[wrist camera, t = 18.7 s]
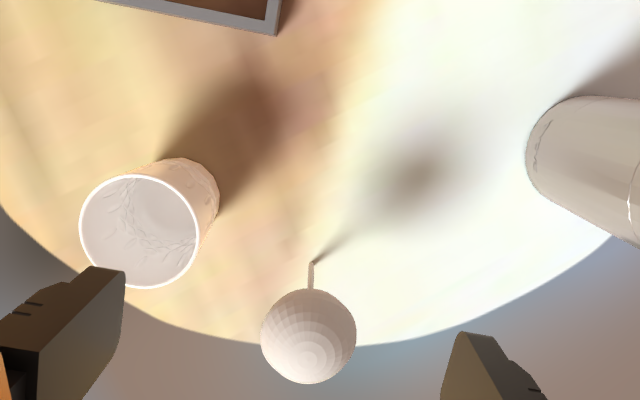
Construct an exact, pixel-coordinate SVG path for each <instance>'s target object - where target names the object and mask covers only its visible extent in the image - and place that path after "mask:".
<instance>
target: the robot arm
mask: <svg viewBox="0 0 640 400" xmlns="http://www.w3.org/2000/svg"><path fill="white" fill-rule="evenodd" d="M525 162H526V169H527V173H528V176H529V178H530V180H531V182H532V184H533V186H534V187H535V188H536V189H537V190H538V191H539V193H540V194H542V195H543V196H544V197H546V198H547V199H549V200H550V201H552V202H554V203H556V204H558V205H559V206H561V207H563V208H565V209H567V210H568V211H570V212H572V213H574V214H575V215H577V216H579V217H581V218H583V219H585V220H586V221H588V222H590V223H592V224H594V225H596V226H597V227H599V228H601V229H603V230H605V231H607V232H608V233H610V234H612V235H614V236H616V237H618V238H619V239H621V240H623V241H625V242H627V243H629V244H630V245H632V246H634V247H636V248H638V249H640V99H629V98H619V97H606V96H578V97H574V98H570V99H567V100H565V101H563V102H561V103H558V104H557V105H555V106H554V107H553V108H551V109H550V110H548V111H547V112H546V113H545V114H544V115H543V116H542V117H541V118H540V119H539V121H538V122H537V124H536V125H535V127H534V128H533V130H532V132H531V134H530V137H529V139H528V142H527V147H526V152H525ZM125 285H126V275H125V272H124V271H120V270H114V269H108V268H103V267H97V266H89V267H88V268H87V269H85V270H84V271H83V272H82V273H81V274H79V275H78V276H77V277H76V278H75V279H74V280H72V281H71V282H70V283H65V282H60V283H57V284H54V285H52V286H49V287H46V288H44V289H41V290H39V291H38V292H36V293H35V294H34V295H33V296H31V297H30V298H29V299H27V300H26V301H25V303H24V304H21V305H20V306H18V307H17V308H16V309H14V310H13V312H12V314H11V313H9V314H8V315H7V316H5V317H4V318H3V319H1V320H0V400H82V399H83V397H84V396H85V395H86V393H87V392H88V391H89V389H90V388H91V386H92V385H93V384H94V382H95V381H96V380H97V378H98V377H99V375H100V374H101V373H102V371H103V370H104V369H105V367H106V366H107V364H108V363H109V362H110V360H111V359H112V357H113V355H114V353H115V351H116V348H117V345H118V342H119V338H120V333H121V323H122V314H123V305H124V295H125ZM440 400H547V398H546V397H545V395H544V394H543V393H541V390H540V388H539V387H538V385H537V384H536V383H535V381H534V380H533V378H532V377H531V375H530V374H528V373H527V372H526V371H525V370H523V369H522V368H521V367H520V366H519V365H517V364H516V363H515V362H514V361H510V360H508V358H507V357H506V355H505V354H504V352H503V351H502V349H501V348H500V346H499V345H498V343H497V341H496V340H495V339H494V338H493V337H492V336H486V335H480V334H474V333H469V332H463V331H461V332H460V333H459V334H458V335H457V337H456V339H455V343H454V346H453V349H452V353H451V356H450V360H449V363H448V367H447V370H446V374H445V377H444V381H443V384H442V388H441V393H440Z"/></svg>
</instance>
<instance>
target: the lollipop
mask: <svg viewBox="0 0 640 400" xmlns="http://www.w3.org/2000/svg"><path fill="white" fill-rule="evenodd" d="M313 283H314V263H312V262H311V263H309V270H308V288H307V289H300V290H295V291H293V292H290V293H288V294H287V295H285V296H283V297H282V298H281V299H279V300H278V301H277V302H276V303H275V304H274V305H273V307H272V308H271V309H270V311H269V312H268V314H267V315H266V316H265V319H264V321H263V323H262V327H261V335H260V338H261V348H262V352H263V354H264V356H265V358H266V360H267V361H268V362H269V364H270V365H271V366H272V367H273V368H275V370H277V371H278V372H279V373H280V374H281V375H283V376H284V377H285V378H287V379H289V380H291V381H294V382H297V383H303V384H314V383H319V382H322V381H325V380H327V379H329V378H331V377H332V376H334V375H335V374H337V372H339V371H340V370H341V369H342V368H343V367H344V365H345V364H346V363H347V362H348V360H349V359H350V358H351V355H352V353H353V351H354V348H355V344H356V325H355V321H354V319H353V317H352V315H351V313H350V312H349V310H348V309H347V308H346V307H345V306H344V305H343V304H342V303H341V302H340V301H339V300H338V299H336V298H335V297H334V296H332V295H331V294H329V293H327V292H324V291H322V290H318V289H313Z"/></svg>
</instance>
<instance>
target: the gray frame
mask: <svg viewBox="0 0 640 400" xmlns="http://www.w3.org/2000/svg"><path fill="white" fill-rule="evenodd" d="M96 1H101V2H106V3H111V4H116V5H121V6H126V7H131V8H136V9H141V10H146V11H151V12H156V13H160V14H165V15H170V16H175V17H180V18H185V19H190V20H195V21H200V22H205V23H210V24H215V25H220V26H225V27H230V28H235V29H240V30H245V31H250V32H255V33H260V34H265V35H270V36H275V37H276V36H277V30H278V24H279V18H280V12H281V6H282V0H268V2H267V8H266V15H265V21H263V20H258V19H253V18H248V17H243V16H238V15H233V14H228V13H223V12H218V11H214V10H209V9H204V8H199V7H194V6H189V5H184V4H179V3H174V2H169V1H164V0H96Z"/></svg>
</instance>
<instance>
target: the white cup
mask: <svg viewBox="0 0 640 400" xmlns="http://www.w3.org/2000/svg"><path fill="white" fill-rule="evenodd" d="M219 199H220V192H219V190H218V187H217V184H216V182H215V179H214V177H213V176H212V175H211V174H210V173H209V172H208V171H207V170H206V169H205V168H204V167H203V166H202V165H201V164H200V163H197V162H194V161H191V160H189V159H186V158H183V157H182V158H170V159H163V160H161V161H157V162H153V163H150V164H147V165H144V166H141V167H138V168H135V169H133V170H130V171H128V172H125V173H123V174H120V175H117V176H115V177H112V178H110V179H108V180H106V181H104V182H102V183H101V184H99V185H98V186H97V187H96V188H95V189H94V190H93V191H92V192H91V193H90V194H89V196H88V197H87V199H86V200H85V202H84V204H83V206H82V209H81V213H80V217H79V235H80V240H81V243H82V246H83V248H84V251H85V253H86V255H87V256H88V258H89V259H90V261H91V262H92V263H93V265H94V266H97V267H103V268H108V269H114V270H120V271H124V272H125V275H126V285H125V286H128V287H133V288H141V289H148V288H156V287H161V286H164V285H167V284H169V283H171V282H173V281H175V280H177V279H178V278H179V277H181V276H182V275H183V274H184V273H185V272H186V271H187V270H188V269H189V268H190V266H191V265H192V263H193V262H194V260H195V258H196V256H197V254H198V252H199V250H200V248H201V246H202V245H203V243H204V241H205V239H206V237H207V235H208V233H209V231H210V229H211V227H212V224H213V222H214V218H215V216H216V214H217V212H218V210H219Z"/></svg>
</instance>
